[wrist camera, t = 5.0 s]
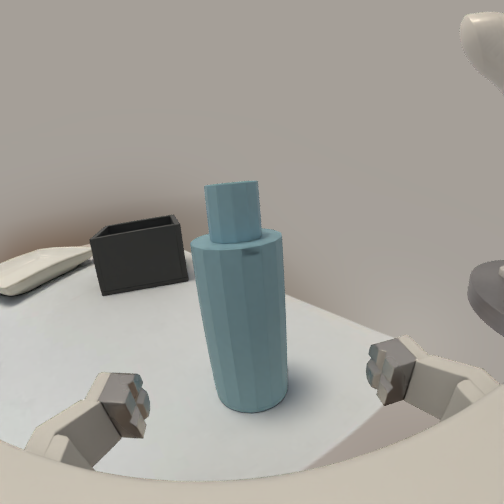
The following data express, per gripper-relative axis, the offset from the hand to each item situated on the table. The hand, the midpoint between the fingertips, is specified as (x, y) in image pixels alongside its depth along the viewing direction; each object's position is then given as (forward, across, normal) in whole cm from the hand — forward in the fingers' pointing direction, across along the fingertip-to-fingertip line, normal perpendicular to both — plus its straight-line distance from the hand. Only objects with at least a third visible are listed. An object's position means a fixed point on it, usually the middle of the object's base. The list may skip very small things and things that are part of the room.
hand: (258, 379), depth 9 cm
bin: (+37, +16, +8) cm, 41 cm away
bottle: (+8, 0, +8) cm, 11 cm away
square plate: (+42, +48, +8) cm, 64 cm away
